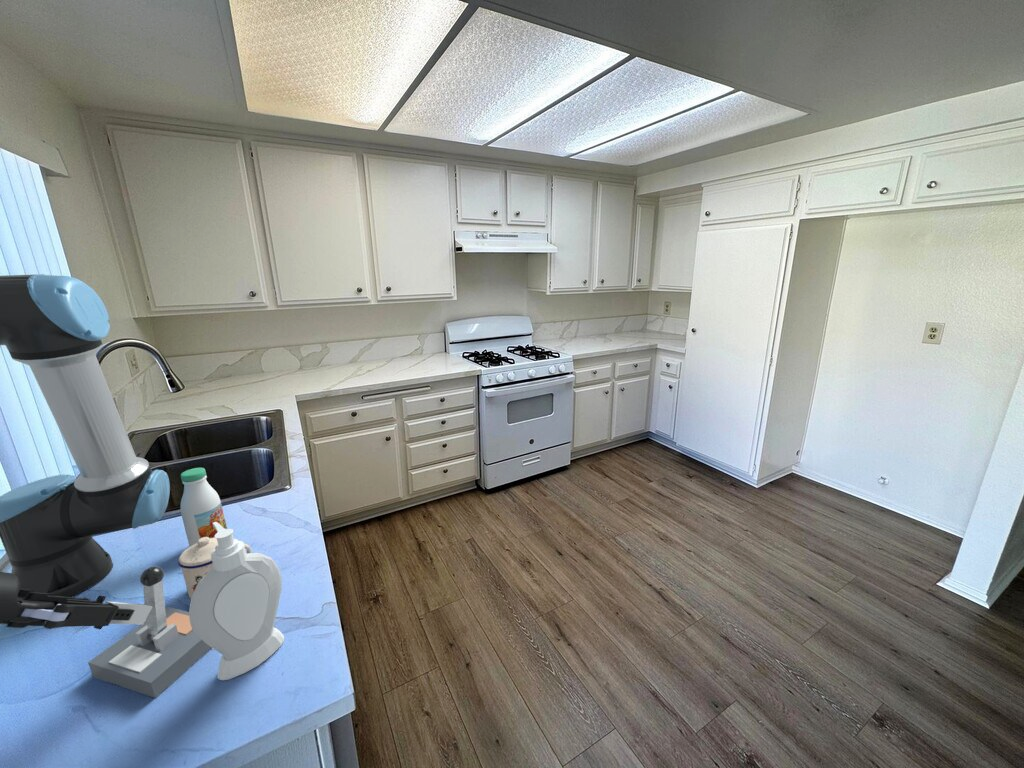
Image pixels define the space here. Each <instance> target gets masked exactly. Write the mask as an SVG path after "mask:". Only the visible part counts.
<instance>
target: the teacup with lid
mask: <svg viewBox="0 0 1024 768" xmlns="http://www.w3.org/2000/svg"><path fill="white" fill-rule="evenodd" d="M217 544H218V542H217V539H216V538H210V539H209V538H208V537H203V538H201V539H199V540H198V542H197V543H196V544H194V545H192V546H190V547H189V546H188V547H187V548H185V550H184V551H182V553H181V554H180V556H179V558H178V561H177V562H178V566H179V567H180V568H181V571H182V575H183V579H184V580H183V581H184V583H185V587H186V590H187V594H188V597H189V599H190V600H191V597H192V594H193V592H194V591H195V589H196V587H197V585H198V583H199V581H200V580H201V579H202V578H203V577H204V576H205V575H206V574H207V573H208V572H209V571H210V570H211V569H212V567H213V562H212V558H211V553H212V551H213V550H214V549H215V547H216V545H217ZM244 546H245V550H246V554H247V553H252V549H251V546H250V545H249V544H247V543H244Z"/></svg>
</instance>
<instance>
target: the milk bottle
mask: <svg viewBox="0 0 1024 768" xmlns="http://www.w3.org/2000/svg"><path fill="white" fill-rule="evenodd" d="M207 478H208V476H207V472H206V469H205V468H204V467H194V468H191V469H186V470H185V471H183V472H181V473H180V479H181V482H182V484H183V485H184V487H183V494H182V497H181V500H180V513H181V518H182V523H183V526H184V530H185V535H186V539H187V542H188V548H189V547H190V546H192V545H194V544H196V543H197V542H198V540H199V539H201V538H203V537H208V538H209V539H210V538H215V534H216V533H217V530H216V529H215V527H214V526H213V523H214V522H217V523H219V524H220V525H221V526H222V527H223V528H224V529H228V526H227V522H226V521H227V520H226V518H225V513H224V509H223V506H222V501H221V498H220V495H219V494H218V492H217V491H216V490H215V489H214V487H212V486H211V484H209V482H208V481H207Z"/></svg>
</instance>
